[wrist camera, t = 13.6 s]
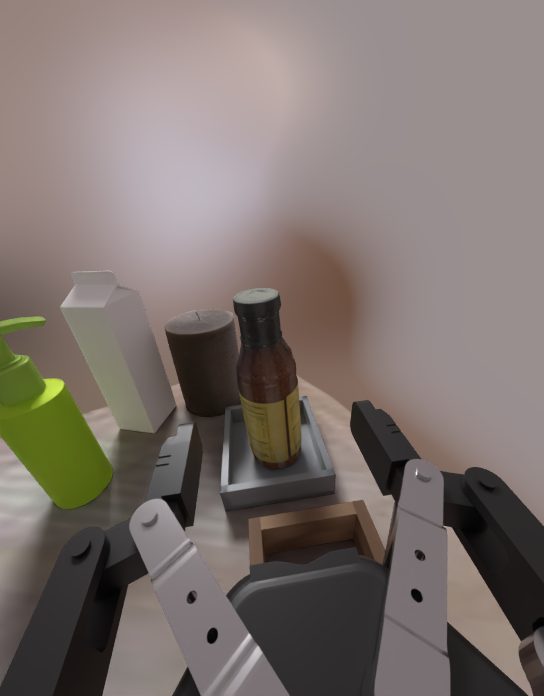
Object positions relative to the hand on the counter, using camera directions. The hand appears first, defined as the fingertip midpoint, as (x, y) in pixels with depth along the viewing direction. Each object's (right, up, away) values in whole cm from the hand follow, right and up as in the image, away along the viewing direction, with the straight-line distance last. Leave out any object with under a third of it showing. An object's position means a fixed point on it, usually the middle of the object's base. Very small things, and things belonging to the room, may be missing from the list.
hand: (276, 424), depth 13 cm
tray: (0, -9, +19) cm, 21 cm away
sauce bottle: (0, -9, +19) cm, 21 cm away
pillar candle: (-9, -4, +30) cm, 32 cm away
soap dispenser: (-22, -12, +18) cm, 30 cm away
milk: (-19, -7, +27) cm, 33 cm away
